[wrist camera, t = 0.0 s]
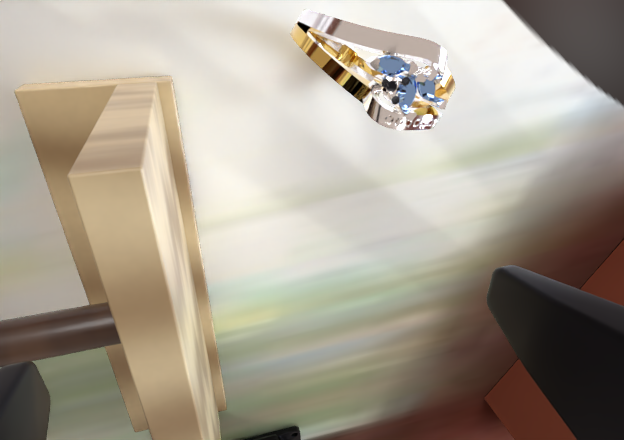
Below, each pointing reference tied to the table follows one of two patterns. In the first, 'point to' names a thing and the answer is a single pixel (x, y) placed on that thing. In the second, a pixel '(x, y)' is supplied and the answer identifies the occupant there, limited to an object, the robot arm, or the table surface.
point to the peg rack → (126, 250)
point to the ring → (380, 69)
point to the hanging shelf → (524, 391)
